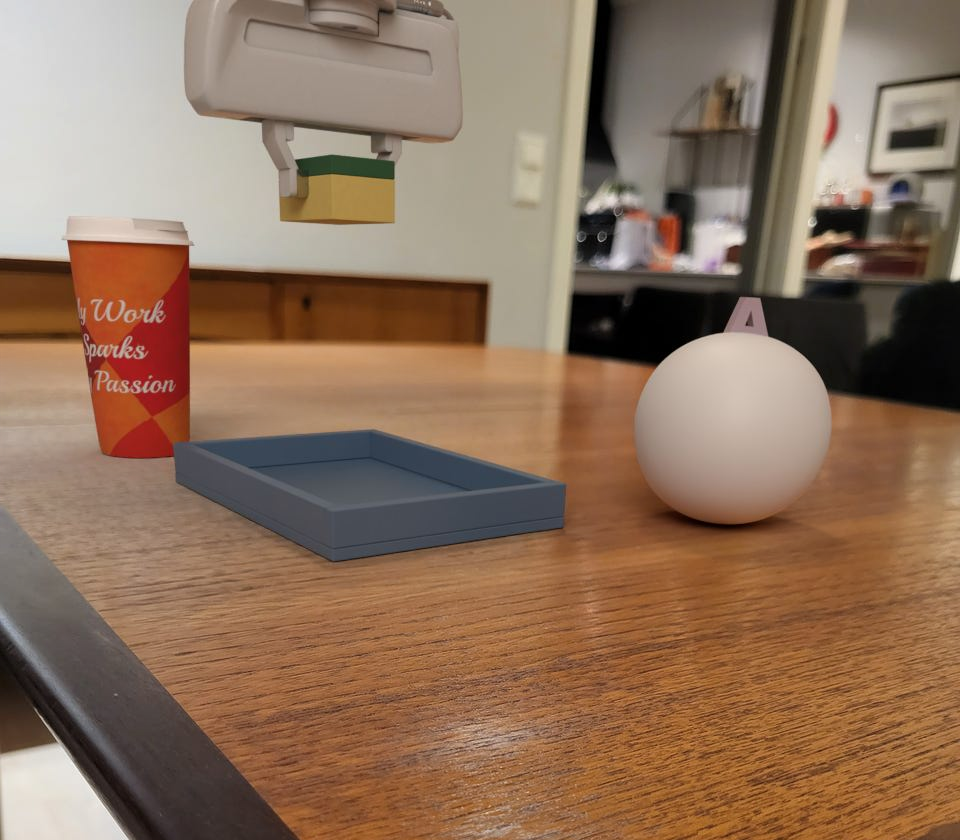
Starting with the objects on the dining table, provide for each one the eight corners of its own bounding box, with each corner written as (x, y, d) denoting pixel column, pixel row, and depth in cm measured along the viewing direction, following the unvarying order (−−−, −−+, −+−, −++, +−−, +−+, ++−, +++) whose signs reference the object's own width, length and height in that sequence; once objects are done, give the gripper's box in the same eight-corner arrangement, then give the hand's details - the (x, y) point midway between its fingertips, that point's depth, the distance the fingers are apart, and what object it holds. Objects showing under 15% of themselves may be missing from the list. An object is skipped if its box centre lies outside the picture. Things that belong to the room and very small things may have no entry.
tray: (175, 481, 61) (172, 442, 60) (374, 464, 69) (374, 428, 68) (332, 562, 46) (332, 511, 45) (563, 527, 54) (567, 483, 53)
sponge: (279, 221, 74) (277, 161, 72) (339, 224, 77) (338, 167, 75) (332, 219, 68) (331, 154, 66) (395, 223, 71) (395, 161, 69)
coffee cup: (56, 454, 68) (30, 213, 62) (130, 437, 75) (112, 220, 70) (164, 465, 65) (146, 217, 60) (229, 446, 73) (218, 224, 68)
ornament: (725, 495, 63) (750, 295, 59) (853, 534, 55) (893, 304, 51) (592, 508, 58) (609, 291, 54) (710, 552, 50) (742, 300, 46)
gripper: (434, 11, 75) (430, 211, 80) (167, -45, 64) (181, 192, 69) (483, -4, 71) (476, 209, 75) (204, -67, 59) (217, 188, 64)
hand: (334, 201), depth 72 cm, fingers closed on sponge, 5 cm apart
